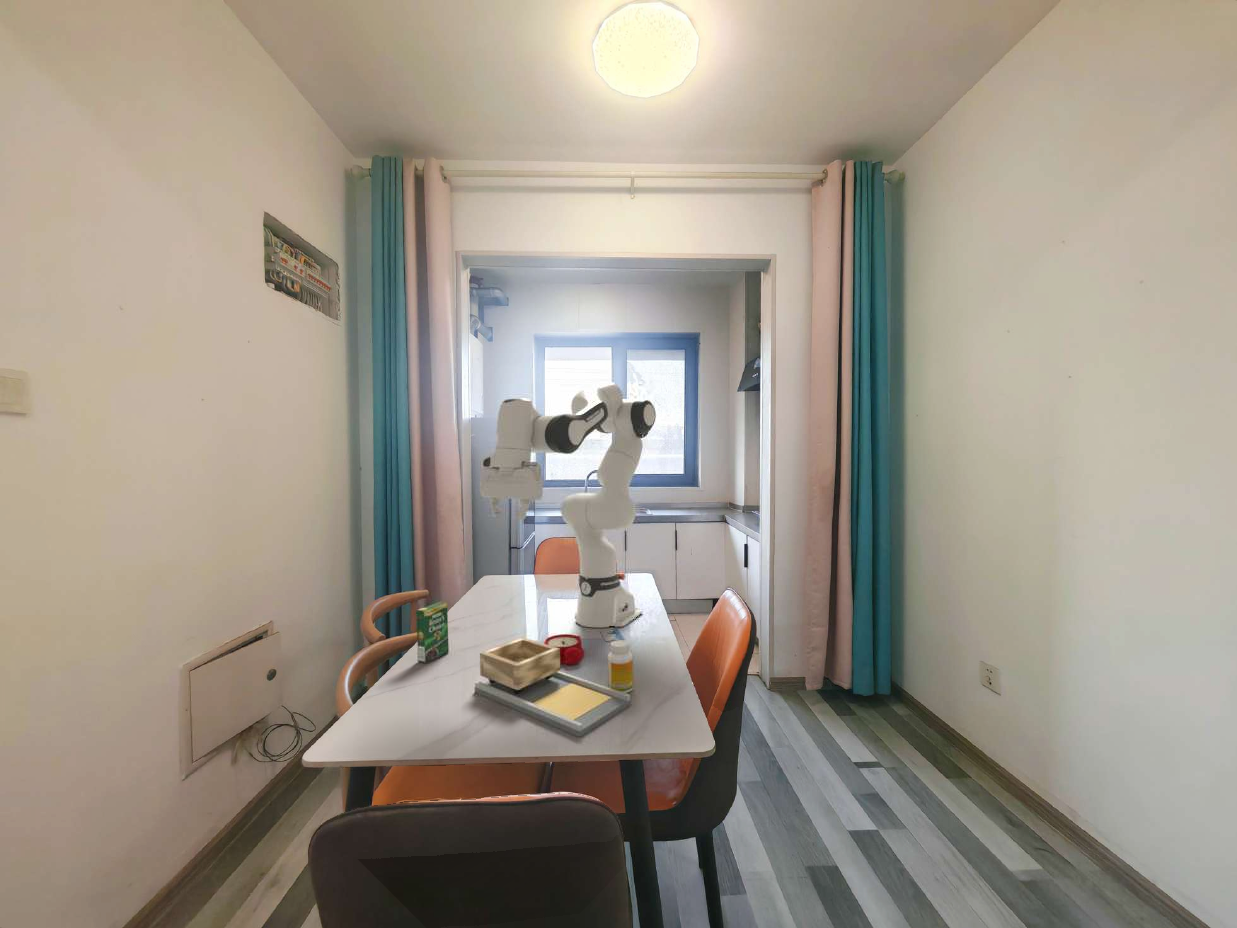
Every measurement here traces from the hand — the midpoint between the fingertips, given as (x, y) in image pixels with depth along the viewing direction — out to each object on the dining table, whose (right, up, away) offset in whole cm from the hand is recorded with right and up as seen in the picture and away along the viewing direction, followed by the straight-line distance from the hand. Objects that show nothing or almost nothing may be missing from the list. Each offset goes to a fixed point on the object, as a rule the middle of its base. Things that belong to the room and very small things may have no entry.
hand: (508, 517), depth 125 cm
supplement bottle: (+28, -35, -17) cm, 48 cm away
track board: (+13, -35, -21) cm, 43 cm away
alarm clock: (+13, -35, 0) cm, 38 cm away
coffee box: (-19, -36, +2) cm, 40 cm away
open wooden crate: (+6, -34, -16) cm, 38 cm away
